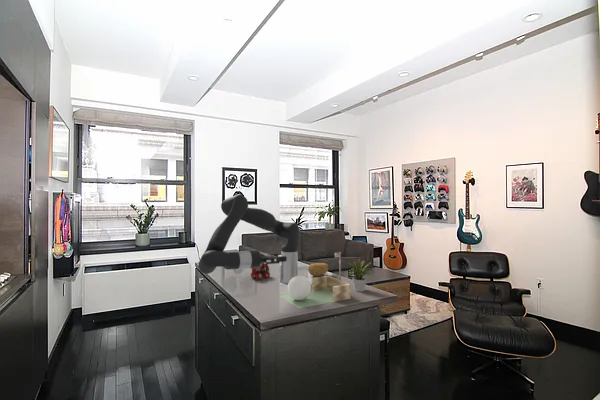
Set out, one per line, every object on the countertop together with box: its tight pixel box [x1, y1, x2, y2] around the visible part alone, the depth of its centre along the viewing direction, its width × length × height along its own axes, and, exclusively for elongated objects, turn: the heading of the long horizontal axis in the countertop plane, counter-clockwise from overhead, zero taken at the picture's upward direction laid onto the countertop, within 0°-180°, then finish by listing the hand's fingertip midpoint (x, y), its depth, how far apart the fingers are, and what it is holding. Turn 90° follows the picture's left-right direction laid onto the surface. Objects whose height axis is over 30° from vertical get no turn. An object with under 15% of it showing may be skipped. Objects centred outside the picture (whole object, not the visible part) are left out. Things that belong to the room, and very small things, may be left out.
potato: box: [307, 262, 329, 277], centre depth 194 cm, size 10×14×8 cm
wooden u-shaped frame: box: [311, 251, 351, 303], centre depth 155 cm, size 11×19×20 cm, turn 29°
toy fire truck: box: [250, 263, 271, 281], centre depth 189 cm, size 7×12×10 cm, turn 132°
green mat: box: [279, 289, 352, 309], centre depth 151 cm, size 28×20×1 cm
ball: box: [287, 275, 312, 301], centre depth 147 cm, size 11×11×11 cm
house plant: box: [348, 258, 372, 292], centre depth 162 cm, size 14×14×16 cm
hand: (281, 257), depth 144 cm, fingers open, 8 cm apart
